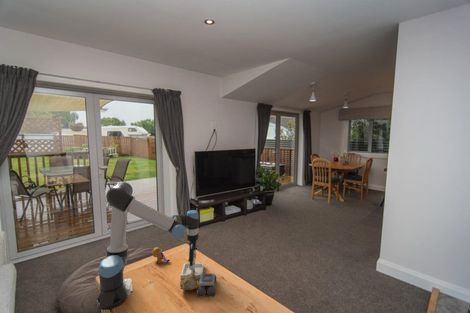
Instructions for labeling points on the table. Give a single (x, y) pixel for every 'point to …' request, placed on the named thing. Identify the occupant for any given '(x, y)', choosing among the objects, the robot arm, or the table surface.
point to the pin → (194, 263)
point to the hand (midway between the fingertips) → (192, 264)
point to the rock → (189, 282)
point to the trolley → (206, 280)
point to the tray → (185, 271)
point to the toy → (159, 255)
